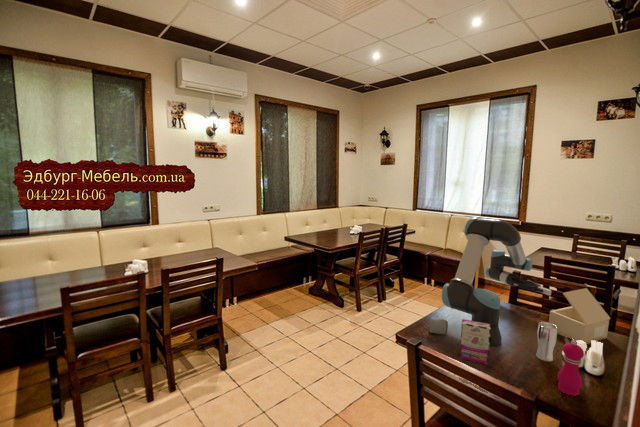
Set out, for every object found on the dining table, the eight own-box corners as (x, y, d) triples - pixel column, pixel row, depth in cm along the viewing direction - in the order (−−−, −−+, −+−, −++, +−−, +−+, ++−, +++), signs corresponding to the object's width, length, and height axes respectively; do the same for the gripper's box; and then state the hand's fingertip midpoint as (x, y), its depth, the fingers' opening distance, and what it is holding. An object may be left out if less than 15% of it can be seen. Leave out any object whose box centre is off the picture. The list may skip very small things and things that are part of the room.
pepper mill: (560, 394, 113) (566, 343, 111) (553, 382, 120) (558, 333, 117) (584, 400, 111) (591, 347, 108) (576, 387, 118) (582, 337, 115)
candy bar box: (487, 359, 135) (490, 323, 133) (488, 365, 130) (491, 328, 128) (459, 352, 140) (462, 318, 138) (459, 358, 135) (461, 323, 133)
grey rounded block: (447, 337, 152) (448, 323, 151) (429, 335, 155) (430, 320, 154) (446, 328, 162) (446, 314, 161) (429, 325, 165) (430, 311, 164)
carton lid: (586, 325, 145) (587, 324, 144) (562, 293, 154) (563, 292, 153) (609, 319, 151) (610, 318, 150) (585, 288, 160) (586, 288, 159)
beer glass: (555, 364, 132) (558, 330, 130) (535, 358, 135) (538, 326, 133) (553, 356, 137) (557, 324, 135) (534, 351, 141) (537, 320, 139)
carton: (583, 345, 146) (586, 325, 145) (548, 329, 161) (550, 311, 160) (607, 338, 152) (609, 319, 151) (570, 323, 167) (572, 305, 166)
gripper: (517, 283, 193) (557, 298, 171) (501, 286, 188) (541, 301, 166) (518, 271, 192) (559, 284, 170) (502, 274, 187) (542, 287, 165)
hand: (550, 293), depth 168 cm, fingers closed
